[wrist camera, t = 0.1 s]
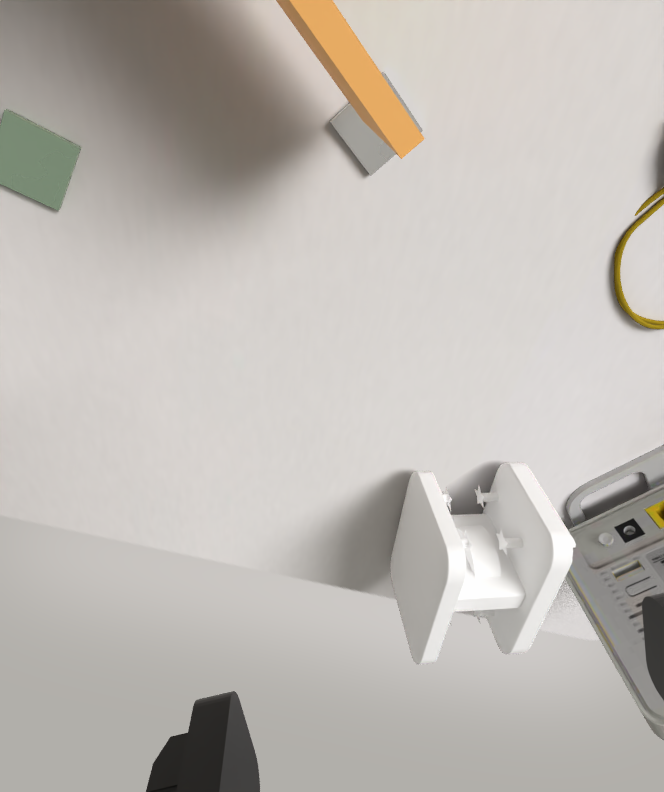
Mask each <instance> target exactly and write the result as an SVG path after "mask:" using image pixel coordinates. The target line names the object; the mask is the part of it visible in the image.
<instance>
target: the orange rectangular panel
mask: <svg viewBox="0 0 664 792" xmlns="http://www.w3.org/2000/svg"><path fill="white" fill-rule="evenodd" d="M276 1H277V2H278V4H279V5H280V6H281V8H282V9H283V11H284V12H285V13H286V15H287V16H288V18H289V19H290V20H291V22H292V23H293V25H294V26H295V27H296V29H297V30H298V32H299V33H300V34H301V36H302V37H303V38H304V40H305V41H306V43H307V44H308V45H309V47H310V48H311V50H312V51H313V52H314V54H315V55H316V57H317V58H318V59H319V61H320V62H321V64H322V65H323V66H324V68H325V69H326V70H327V72H328V73H329V75H330V76H331V77H332V79H333V80H334V82H335V83H336V84H337V86H338V87H339V89H340V90H341V91H342V93H343V94H344V96H345V97H346V98H347V100H348V101H349V102H350V104H351V105H352V107H353V108H354V109H355V111H356V112H357V114H358V115H359V116H360V118H361V119H362V121H363V122H364V123H365V124H366V125H367V126H368V127H369V128H370V129H372V130H373V131H374V132H375V133H376V134H377V135H378V136H379V137H380V138H381V139H382V140H383V141H384V142H385V143H386V144H387V145H388V146H389V147H390V148H391V149H392V150H393V151H394V152H395V153H396V154H397V155H398V156H399V157H400V158H401V159H402V158H403V157H404V156H405V155H406V154H408V153H409V152H410V151H411V150H412V149H413V148H414V147H416V146H417V145H418V144H419V143H420V142H421V141H423V140H424V137H423V136H422V134H421V133H420V131H419V130H418V128H417V127H416V125H415V124H414V122H413V121H412V119H411V118H410V116H409V115H408V113H407V112H406V110H405V109H404V107H403V106H402V104H401V103H400V101H399V100H398V98H397V97H396V95H395V94H394V92H393V91H392V89H391V88H390V86H389V85H388V83H387V82H386V80H385V79H384V77H383V76H382V74H381V73H380V71H379V70H378V68H377V67H376V65H375V64H374V62H373V61H372V59H371V58H370V56H369V55H368V53H367V52H366V50H365V49H364V47H363V46H362V44H361V43H360V41H359V40H358V38H357V37H356V35H355V34H354V32H353V31H352V29H351V28H350V26H349V25H348V23H347V22H346V20H345V19H344V17H343V16H342V14H341V13H340V11H339V10H338V8H337V6H336V5H335V3H334V2H333V0H276Z"/></svg>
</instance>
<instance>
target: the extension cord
mask: <svg viewBox="0 0 664 792" xmlns="http://www.w3.org/2000/svg"><path fill="white" fill-rule="evenodd" d="M662 194H664V187H663V188H662V189H661V190H659V191H658V192H657V193H656V194H654V195H653V196H652V197H650V198H649V199H648V200H647V201H646V202H644V204H643V205H642V206H641V207H640V208H639V210H638V211H637V212H636V214H635V216H636V215H637V214H638V213H639V212H641V211H642V210H643V209H644V208H646V207H647V206H648V205H649V204H650V203H652V202H653V201H654V200H656V199H657V198H658V197H660V196H661V195H662ZM663 204H664V198H663V199H662V200H661V201H659V202H658V203H657V204H656V205H655V206H654V207H652V208H651V209H650V210H649V211H648V212H647V213H646V214H645V215H644V216H642V217H641V218H640V219H639V220H638V221H637V222H636V223H635V224H634V225H633V226H632V227H631V228H630V229H629V230H628V231H627V232H626V234H625V235H624V237H623V238H622V239H621V241H620V243H619V245H618V247H617V249H616V252H615V257H614V283H615V292H616V296H617V300H618V302H619V304H620V306H621V307H622V308H623V310H624V311H625V312H626V313H627V314H629V315H630V317H631V318H633V319H634V320H635V321H636V322H637V323H639V324H641V325H642V326H644V327H647V328H652V329H664V321H656V320H651V319H646V318H644V317H641V316H639V315H637V314H635V313H634V312H632V310H631V309H630V307H629V306H628V304H627V302H626V300H625V297H624V294H623V291H622V286H621V281H620V265H621V258H622V253H623V250H624V247H625V245H626V242H627V240H628V239H629V237H630V235H631V234H632V233H633V232H634V230H635V229H636V228H637V227H638V226H639V225H640V224H642V223H643V222H644V221H645V220H646V219H647V218H648V217H650V216H651V215H652V214H653V213H654V212H655V211H656V210H658V209H659V208H660V207H661V206H662V205H663ZM649 323H650V324H649ZM652 324H655V325H652Z"/></svg>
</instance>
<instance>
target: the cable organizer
mask: <svg viewBox="0 0 664 792" xmlns="http://www.w3.org/2000/svg"><path fill="white" fill-rule="evenodd" d="M474 490H475V489H474ZM475 492H476V495H477V504H479V503H481V505H482V507H483V508H484V510H483V513H482V514H460V515H451V514H450V512H449V510H448V507H447V505H448V506H449V508H450V510H451V506H450V502H451V500H452V498H451V497H450V496H449V494H448V490H447V487H446V492H443V494H442V493H441V490H440V488H439V486H438V483H437V481H436V478H435V476H434V474H433V473H432V472H431V471H415V472H413V473H412V475H411V477H410V480H409V483H408V488H407V492H406V496H405V500H404V505H403V509H402V513H401V517H400V522H399V526H398V530H397V535H396V539H395V543H394V547H393V552H392V556H391V565H390V571H391V580H392V585H393V588H394V592H395V596H396V599H397V603H398V607H399V611H400V614H401V618H402V621H403V625H404V629H405V633H406V637H407V640H408V644H409V648H410V651H411V655H412V658H413V660H414V662H415V663H416V664H429V663H434V662H435V661H436V660H437V658H438V655H439V652H440V649H441V646H442V644H443V641H444V638H445V635H446V632H447V629H448V626H449V624H451V618H452V615H453V612H460V611H474V616H477V618H478V620H479V622H480V618H479V617H483V616H486V618H487V620H488V623H489V625H490V628H491V630H492V633H493V635H494V637H495V640H496V642H497V645H498V647H499V649H500V650H501V651H502V653H504V654H518V653H525V652H527V651H528V650H529V648H530V647H531V645H532V643H533V641H534V639H535V637H536V635H537V633H538V631H539V629H540V627H541V625H542V623H543V622H544V619H545V617H546V615H547V613H548V611H549V609H550V607H551V605H552V603H553V601H554V599H555V597H556V595H557V593H558V591H559V589H560V587H561V585H562V583H563V581H564V579H565V577H566V575H567V572H568V570H569V568H570V566H571V564H572V557H573V548H575V547H576V544H575V541H574V539H573V537H572V536H571V535H570V533H569V531H568V529H567V528H566V526H565V525H564V523H563V521H562V520H561V518H560V517H559V515H558V513H557V512H556V510H555V509H554V507H553V505H552V504H551V502H550V501H549V499H548V497H547V496H546V494H545V493H544V491H543V489H542V488H541V486H540V485H539V483H538V481H537V480H536V478H535V477H534V475H533V473H532V472H531V470H530V469H529V467H528V466H527V464H525V463H523V462H514V463H503V464H502V465H501V466H500V467H499V469H498V470H497V473H496V475H495V478H494V481H493V484H492V487H491V490H490V493H481V491H480V487H479V486H478V490H475ZM483 502H486V504H485V507H484V506H483Z"/></svg>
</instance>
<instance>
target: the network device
mask: <svg viewBox="0 0 664 792" xmlns="http://www.w3.org/2000/svg"><path fill="white" fill-rule="evenodd" d="M636 472H642V473H643V474H644V477H645V480H646V482H647V485H648V488H649V491H648V492H645V493H643V494H641V495H639V496H637V497H635V498H633V499H631V500H629V501H627V502H625V503H623V504H620V505H618V506H616V507H614V508H612V509H610V510H608V511H606V512H604V513H602V514H600V515H597V516H595V517H593V518H591V519H589V520H586V518H585V516H584V514H583V512H582V510H581V507H580V503H581V501H582V500H583V499H584V498H585V497H586V496H587V495H589V494H591V493H593V492H595V491H597V490H600V489H602V488H604V487H606V486H608V485H610V484H612V483H614V482H616V481H618V480H620V479H622V478H624V477H626V476H628V475H630V474H633V473H636ZM566 509H567V512H568V514H569V516H570V518H571V520H572V522H573V524H574V527H572V528H570V529H568V531H569V533H570V535H571V536H572V537H573V539H574V541H575V544H576V547H575V548H573V557H572V564H571V566H570V568H569V570H568V572H567V575H566V577H565V579H566V581H567V582H568V584H569V586H570V588H571V589H572V591H573V593H574V595H575V596H576V598H577V600H578V602H579V603H580V605H581V607H582V609H583V611H584V612H585V614H586V616H587V618H588V619H589V621H590V623H591V625H592V626H593V628H594V630H595V632H596V633H597V635H598V637H599V639H600V640H601V642H602V644H603V646H604V647H605V649H606V651H607V653H608V654H609V656H610V658H611V660H612V662H613V663H614V665H615V667H616V669H617V670H618V672H619V674H620V676H621V677H622V679H623V681H624V683H625V685H626V686H627V688H628V690H629V691H630V693H631V695H632V697H633V699H634V700H635V702H636V704H637V706H638V707H639V709H640V711H641V713H642V714H643V716H644V718H645V719H646V721H647V723H648V724H649V726H650V728H651V729H652V730H653V732H654V733H655V734H656V735H657V736H658V737H660V738H661V739H662V740H664V700H663V699H662V697H661V696H660V695H659V693H658V691H657V690H656V688H655V686H654V684H653V682H652V680H651V677H650V675H649V672H648V668H647V663H646V652H645V640H644V627H643V614H642V601H643V599H644V598H645V597H647V596H651V595H655V594H660V593H664V445H662V446H660V447H658V448H656V449H654V450H652V451H650V452H648V453H646V454H644V455H642V456H640V457H638V458H636V459H634V460H632V461H630V462H628V463H626V464H624V465H622V466H620V467H618V468H616V469H613V470H611V471H609V472H607V473H605V474H603V475H601V476H599V477H597V478H595V479H593V480H591V481H589V482H587V483H585V484H584V485H582V486H580V487H579V488H578V489H576V490H575V491H574V493H573V494H572V495H571V496H570V498H569V499H568V502H567V508H566Z"/></svg>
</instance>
